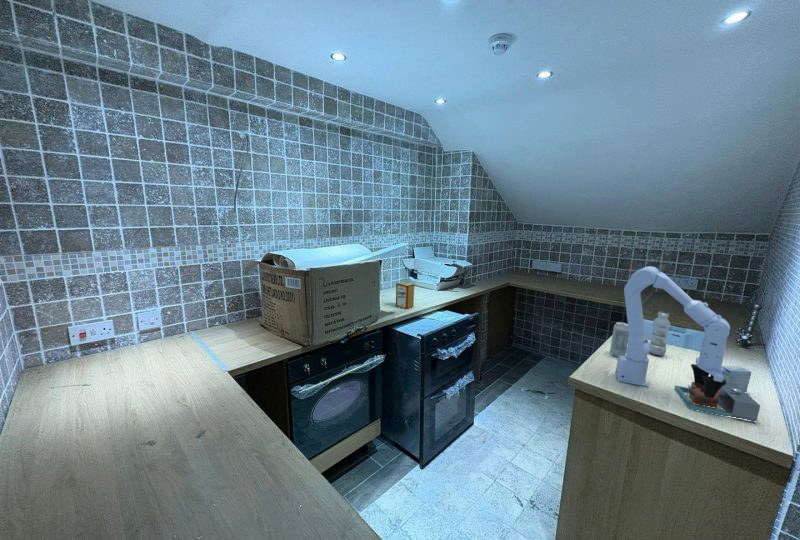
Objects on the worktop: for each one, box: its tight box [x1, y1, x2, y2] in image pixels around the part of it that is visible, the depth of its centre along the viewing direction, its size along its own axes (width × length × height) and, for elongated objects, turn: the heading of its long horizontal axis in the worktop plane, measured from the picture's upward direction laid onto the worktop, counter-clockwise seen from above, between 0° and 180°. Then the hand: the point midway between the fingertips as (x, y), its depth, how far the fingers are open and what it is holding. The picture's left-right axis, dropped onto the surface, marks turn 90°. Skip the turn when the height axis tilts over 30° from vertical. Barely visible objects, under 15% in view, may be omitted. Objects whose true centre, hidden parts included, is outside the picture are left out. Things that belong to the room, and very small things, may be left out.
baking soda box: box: [395, 281, 415, 310], centre depth 212 cm, size 10×6×16 cm
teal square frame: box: [674, 383, 761, 422], centre depth 112 cm, size 16×14×7 cm
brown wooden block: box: [687, 381, 720, 409], centre depth 113 cm, size 7×4×6 cm, turn 66°
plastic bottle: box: [649, 311, 672, 357], centre depth 151 cm, size 6×7×20 cm
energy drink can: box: [609, 321, 629, 358], centre depth 148 cm, size 6×6×15 cm
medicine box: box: [722, 365, 752, 393], centre depth 122 cm, size 8×4×9 cm, turn 92°
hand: (703, 391), depth 113 cm, fingers open, 7 cm apart
